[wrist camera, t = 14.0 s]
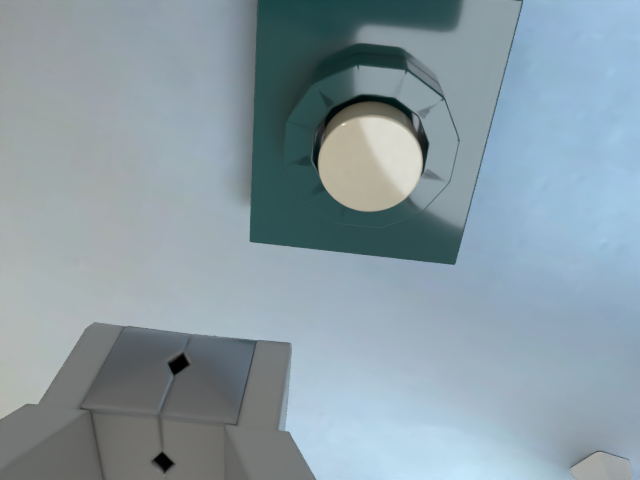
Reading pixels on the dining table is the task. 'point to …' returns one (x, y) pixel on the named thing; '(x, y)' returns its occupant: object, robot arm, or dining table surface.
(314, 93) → the teal push button box
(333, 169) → the cream push button
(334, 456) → the dining table surface
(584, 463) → the perfume bottle
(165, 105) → the dining table surface
